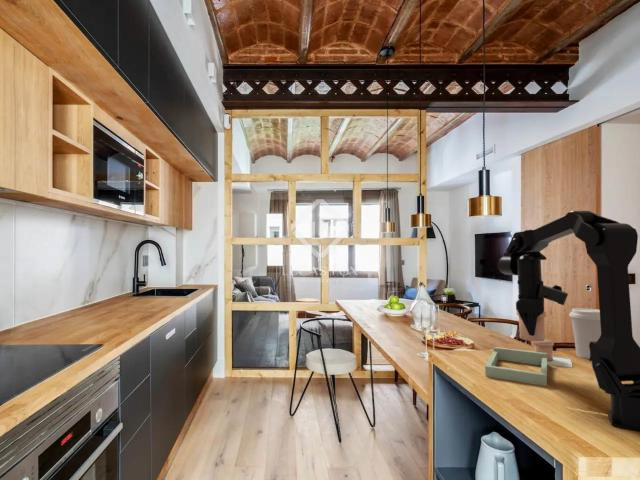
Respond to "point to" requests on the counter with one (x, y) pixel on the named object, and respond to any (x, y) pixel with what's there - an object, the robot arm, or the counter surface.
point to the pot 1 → (538, 331)
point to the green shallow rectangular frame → (515, 374)
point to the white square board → (560, 362)
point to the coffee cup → (585, 329)
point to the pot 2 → (544, 348)
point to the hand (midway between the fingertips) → (532, 333)
